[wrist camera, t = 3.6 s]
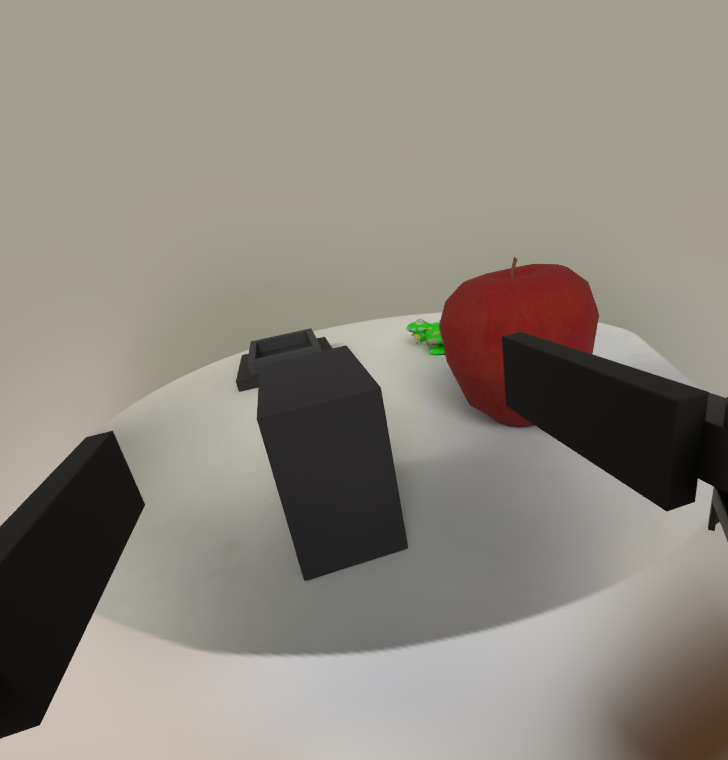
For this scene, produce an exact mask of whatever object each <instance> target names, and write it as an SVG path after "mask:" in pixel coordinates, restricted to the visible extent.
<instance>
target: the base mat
mask: <svg viewBox="0 0 728 760" xmlns="http://www.w3.org/2000/svg"><path fill="white" fill-rule="evenodd" d="M329 349H332V347H331V346H330V344H329V343H328V341H327V340H326V338H325V337H322V338H317V339H316V337H315V335H314V333H313V331H312V329H306V330H302V331H297V332H293V333H288V334H283V335H279V336H275V337H270V338H265V339H261V340H257V341H251V344H250V349H249V354H246V355H242V357H241V362H240V366H239V371H238V375H237V379H236V383H237V387H238V390H239V391H243V390H247V389H252V388H256V387H259V372H260V365H263V364H268V363H272V362H276V361H281V360H285V359H290V358H294V357H298V356H303V355H307V354H311V353H316V352H320V351H324V350H329Z"/></svg>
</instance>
